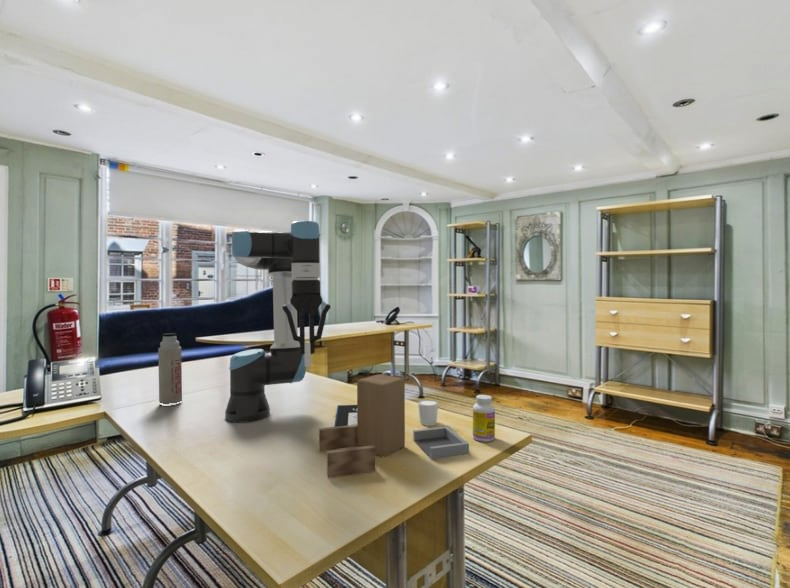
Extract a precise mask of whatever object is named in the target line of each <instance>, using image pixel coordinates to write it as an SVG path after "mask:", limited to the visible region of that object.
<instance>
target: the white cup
mask: <svg viewBox="0 0 790 588" xmlns="http://www.w3.org/2000/svg"><path fill="white" fill-rule="evenodd" d="M417 405H418V415H419V424H420V423H421V424H422V425H421V424H420V425H421V426H424V425H426V427H433V426H436V425H437V420H438V410H439V402H438V401H436V400H430V399H429V400H428V399H427V400H425V399H423V400H420V401H418V402H417Z"/></svg>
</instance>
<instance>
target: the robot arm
mask: <svg viewBox="0 0 790 588" xmlns="http://www.w3.org/2000/svg"><path fill="white" fill-rule="evenodd" d="M320 237H321V233H320V225H319V223H318V222H316V221H312V220H295V221H292V222H291V223H290V231H268V230H267V231H265V230H264V231H263V230H250V229H249V230H247V229H235V230H232V232H231V255H232V256H233V257H234V259H235V260H236V262H238V263H239V264H240V265H242V266H244V267H247V268H250V269H255V270H268V273H267V274H268V276H269V277H270V278H271V279H272V300H273V302H272V304H273V344H272V345H271V346H270V347H269V352H265V350H264V349H262V348H253V349H247V350H243V351H239V352H236V353H234V354H233V355H231V357H230V359H229V368H228V369H229V380H230V382H229V384H230V387H229V392H230V396H229V399H228V402H227V405H226V408H225V411H224V412H225V413H224V418H226V419H227V420H226V419H225V420H226V421H228V420H230V421H229V422H231V421H236V422H235V423H248V422H249V421H250V422H254V421H255V422H256V421H259V420H262V419H265V418H267V417H268V416H270V414H271V413H270V412H271V407H270V404H269V402H268V398H267V396H266V393H265V391H266V390H265V386H272V385H281V384H293V383H299V382H302V381H303V380H304V378H305V376H306V372H307V368H309V367H311V365H312V364H311V362H312V361H311V355H313V354H315V351H316V350H315V346H316V345H315V344H316V343H315V342H316V341H318V340H321V339H322V336H323V331H324V326H325V322H326V319H327V314H328V312H329V311H330V309H331V305H330V304H328V303H327V302H324V300H323V298H322V296H321V281H320V280H319V278H320V277H321V263H320V262H321V256H320V255H321V254H320V252H321V250H320V248H321V247H320V246H321V245H320V239H321V238H320ZM320 306H321V307H320ZM319 307H320V310H321V312H320V313H321V314H320V316H319V321H318V322H319V323H318V327H317V331H316V334H315V313H316V312H317V310H318V309H319ZM298 313H299V316H298ZM305 314H308V326H309V328H308V329H309V330H308V331H309V341H307V340H306V339H305V338H306V337H305V336H306V335H305V334H306V333H305V330H306V329H305V328H306V327H305ZM298 317H299V330H298ZM298 331H299V334H298ZM311 368H312V367H311Z"/></svg>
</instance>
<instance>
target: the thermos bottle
mask: <svg viewBox="0 0 790 588" xmlns="http://www.w3.org/2000/svg"><path fill="white" fill-rule="evenodd" d="M177 339H178V338H177V333H176V332H169V333H162V341H161V342H160V343H159V345H160V347H158V356H157V357H158V358H157V359H158V397H159V398H158V399H159V401H158V403H159V402H160V403H163V404H169V403H177V402H180V401H182V402H183V380H182V379H183V376H182V375H183V374H182V373H183V371H182V365H183V363H182V346H180V341H179V340H177Z"/></svg>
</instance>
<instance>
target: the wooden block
mask: <svg viewBox="0 0 790 588" xmlns="http://www.w3.org/2000/svg"><path fill="white" fill-rule="evenodd" d="M405 382H406V381H405V378H403V377H399V376H394V375H386V374H382V373H381V374H375V375H370V376H367V377H364V378H360V379H358V380H356V385H357V386H356V394H357V395H356V396H357V397H356V398H357V399H356V402H357V404H356V405H357V441H358V447H363V446H371V445H374V446H375V456H376V455H377V456H379V457H382V458H384V457H387V456H389V455H391V454H392V453H394V452H396V451H398V450H400V449H402V448H403V447H405V446H406V441H405V440H406V436H405V435H406V433H405V430H406V428H405V427H406V426H405V425H406V421H405V420H406V419H405V418H406V415H405V413H406V411H405V410H406V406H405V404H406V402H405V401H406V400H405V398H406V397H405V396H406V395H405V394H406V393H405V392H406V391H405V389H406V388H405V386H406V384H405Z"/></svg>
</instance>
